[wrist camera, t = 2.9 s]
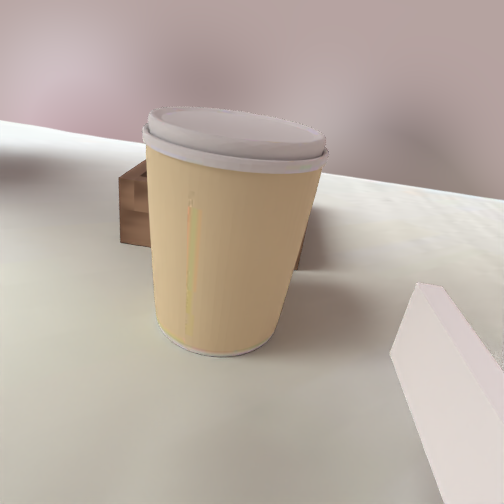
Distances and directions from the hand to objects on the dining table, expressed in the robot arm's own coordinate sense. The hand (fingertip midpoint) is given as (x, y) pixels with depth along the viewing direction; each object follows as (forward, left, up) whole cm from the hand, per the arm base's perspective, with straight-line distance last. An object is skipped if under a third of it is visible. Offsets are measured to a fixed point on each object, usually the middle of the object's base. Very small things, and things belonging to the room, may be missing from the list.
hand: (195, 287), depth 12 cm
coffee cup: (0, +10, -9) cm, 13 cm away
